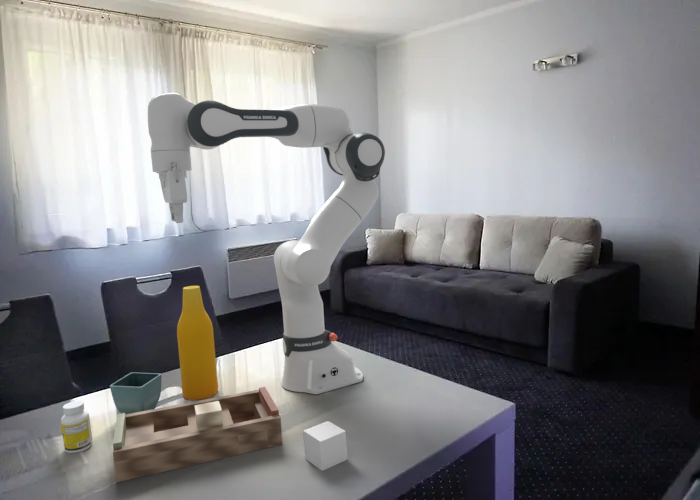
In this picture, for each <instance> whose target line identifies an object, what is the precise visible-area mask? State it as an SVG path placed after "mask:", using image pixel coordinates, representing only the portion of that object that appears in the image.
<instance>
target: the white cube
mask: <svg viewBox="0 0 700 500" xmlns="http://www.w3.org/2000/svg"><path fill="white" fill-rule="evenodd" d="M346 432H347V431H346V430H345V429H343V428H341V427H339V426H337V425H335V423H332V422H330V421H328V420H327V421H324V422H322V423H319V424H317V425H316V424H315V425H314V426H312V427H309V428H306V429H304V430H303V447H304V448H303V449H304V459H305V460H306V461H308V462H310V463H311V464H312V465H313V466H315V467H316V468H318V470H320V471H322V472H323V471H325V470H327V469H329V468H331V467H334V466H336V465H338V464H340V463H343V462H345V461H347V460H348V450H347V433H346Z"/></svg>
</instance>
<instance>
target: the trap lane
mask: <svg viewBox="0 0 700 500" xmlns="http://www.w3.org/2000/svg"><path fill="white" fill-rule="evenodd" d="M215 401H219V403H220V406H221V409H222V418H223V426H221V427H216V428H211V429H206V430H201V431H197V427H196V416H195V405H199V404H205V403H210V402H215ZM116 415H117V416H116V422H115V427H114V428H115V429H114V434H113V440H112V447H113V448H112V457H113V466H114V473H115V476H114V477H115V482H116V483H120V482H124V481H128V480H134V479H139V478H142V477H146V476H152V475H155V474H159V473H162V472H167V471H172V470H176V469H182V468H184V467H189V466H194V465H197V464H198V465H199V464H202V463H207V462H211V461H216V460H219V459H221V460H222V459H225V458H228V457H234V456H238V455H242V454H246V453H250V452H251V453H252V452H254V451H259V450H264V449H267V448H272V447H276V446H281V445H283V434H282V419H281V416H280V410H279V408H278V407H277V405H276V402H275V401H274V399H273V397H272V396H271V394H270V393H269V391H268V389H267V388H266V386H261V387H258V389H253V390H247V391H244V392H238V393H232V394H228V395H223V396H217V397H210V398H206V399H202V400H194V401H189V402H185V403H180V404H175V405H169V406H162V407H159V408H155V409H152V410H147V411H141V412H136V413H131V414H125V413H117V414H116Z"/></svg>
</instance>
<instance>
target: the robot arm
mask: <svg viewBox="0 0 700 500" xmlns="http://www.w3.org/2000/svg"><path fill="white" fill-rule="evenodd" d="M147 125H148V126H147V127H148V134H149V137H150V140H151V146H150V158H151V166H152V169H151V170H152V172H153V173H156V174H158V179H159V182H160V188H161V190H162V197H163V199H164V202H165V203H166V204H167V203H168V207H169V211H170V217H171V221H172V222H175V223H176V224H182V223H183V222H184V204H185V203H187V202H188V192H187V182H186V178H187V177H188V175H187V174H188V173H187V172H190V171H192V170H193V168H192V161H191V160H192V159H191V151H190V150H191V149H190V148H191V147H192V148H197V149H201V150H206V151H207V150H213V149H215V148H218V147H219V146H222V145H224V144H226V143H228V142H229V141H232V140H234V139H238V138H263V137H264V138H273V139H276V140H278V141H279V142H280V143H281V144H282V145H283V146H285V147H290V148H291V147H293V148H305V149H306V148H320V147H321V148H323V152H324V155H325V157H326V163H327V164H328V167H329V168H330V170H332V172H333V173H335V174H337V175H339V176H342V179H341V183H340V185H339V186H338V188H336V190H335V191H334V192H333V193H332V194H331V195H330V196H329V198H328V199H327V200H326V201H325V202H324V203H323V204H322V206H321V207H320V208H319V209H318V210H317V211H316V213H315V214H314V215H313V216H312V218H311V221H310V223H309V225H308V227H307V229H306V230H305V232H304V233H303V235H302V236H301V238H300V239H299V240H297V239H291V240H287V241H285V242H283V243H281V244H280V245H279V246H277V248H276V250H275V251H274V252H273V253H274V255H273V263H274V266H275V274H276V280H277V287H278V291H279V295H280V300H281V307H282V321H283V333H282V351H283V354H284V365H283V366H284V367H283V368H284V369H283V372H282V373H283V375H282V379H281V386H282V387H283V388H284V389H285V390H288V391H289V392H290V391H292V392H298V393H308V394H311V395H319V394H324V393H327V392H330V391H333V390H336V389H337V390H338V389H341V388H344V387H347V386H350V385H353V384H357V383H360V382H362V381H363V379H364V374H363V372H362V371H361V370H360V369H359V367H357V366H355V364H354V361H353V358H352V356H351V355H350V354H349V353H348V352H347V351H346V350H344V349H343V348H342V347H340V346H339V345H337V344H336V343H334V342H337V340H338V335H337V334H336V333H335V332H331V331H330V330H327V329H325V314H324V302H323V299H322V296H321V294H320V293H321V292H320V291H319V285H321V284H322V283H324V282H325V281H326V280H327V278H328V277H329V275H330V272H331V266H332V265H333V263H334V261H335V260H336V258H337V256H338V254H339V252H340V250H341V249H342V247H343V245H344V244H345V243H346V241H347V240H348V238H349V237H350V236H351V235H352V234H353V233H354V231H355V230H356V229H357V228H358V227H359V225H360V224H361V223H362V222H363V221H364V220H365V218H366V217H367V216H368V214H369V213H370V212H371V210H372V208H373V207H374V206H375V204H376V202H377V200H378V198H379V195H380V189H379V186H378V184H377V183H376V181H375V180H376V179H377V178H378V177H379V175H380V171H381V167H382V166H383V163H384V160H385V155H386V154H385V153H386V149H385V145H384V144H383V142H382V140H381V139H380V138H379V137H377V136H376V135H375V134H372V133H370V132H369V133H368V132H358V133H354V132H353V131H352V130H351V127H350V119H349V116H348V114H347V112H346V111H345V110H344V109H343V108H341V107H338V106H333V105H328V104H327V105H326V104H315V103H302V104H301V103H300V104H294V105H293V104H292V105H291V104H290V105H287V106H282V107H278V108H274V109H244V108H241V109H240V108H234V107H232V106H230V105H229V106H228V105H227V104H225V103H222V102H220V101H216V100H203V101H200V102H198V103H194V102H193V101H191V100H189V99H187V98H185V97H184V96H183V95H182V94H180V93H177V92H167V93H163V94H162V93H161V94H159V95H156V96H154V97H152V98H151V99H150V101H149V102H148V105H147Z"/></svg>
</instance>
